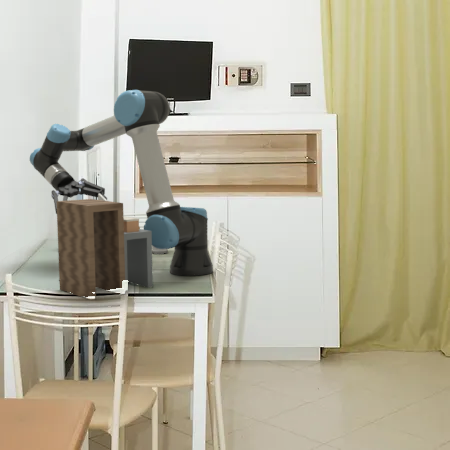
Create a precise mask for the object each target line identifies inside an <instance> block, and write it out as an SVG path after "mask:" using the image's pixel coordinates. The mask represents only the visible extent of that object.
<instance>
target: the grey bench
mask: <svg viewBox="0 0 450 450" xmlns="http://www.w3.org/2000/svg"><path fill="white" fill-rule="evenodd" d="M124 255H125V280H128V281H129V282H128V283H131V284H135V285H137V284H138V285H139V286H142V287H144V286H145V288H153V286H154V284H153V283H154V282H153V281H154V280H153V279H154V278H153V253H152V231H149V230H144V228H143V229H142V228H140V229H139V231H137V232H128V233H127V232H124Z"/></svg>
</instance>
